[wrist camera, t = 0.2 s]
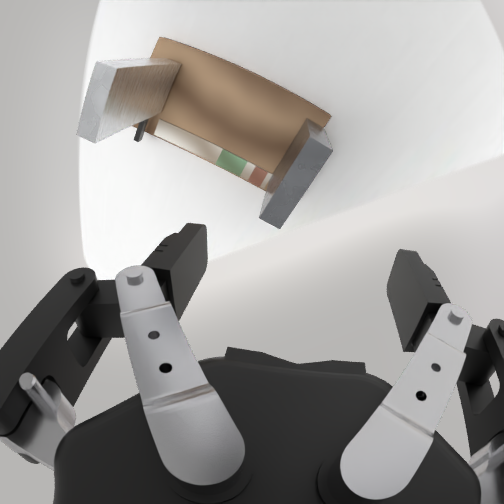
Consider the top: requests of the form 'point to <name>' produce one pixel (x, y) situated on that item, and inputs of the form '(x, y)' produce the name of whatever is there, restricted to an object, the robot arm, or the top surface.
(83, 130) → the brushed steel sheet
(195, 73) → the brown wooden base board
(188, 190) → the top surface
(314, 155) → the grey wood-grain slab
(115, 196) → the top surface
